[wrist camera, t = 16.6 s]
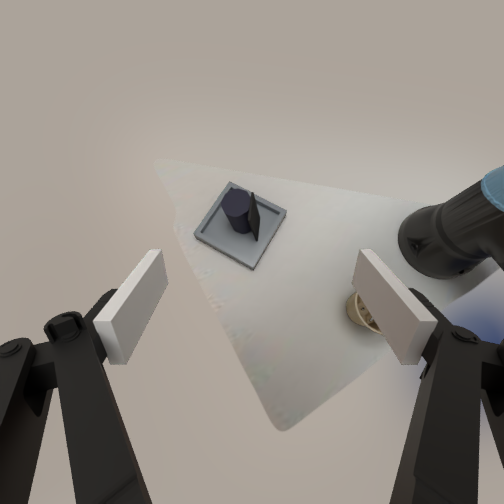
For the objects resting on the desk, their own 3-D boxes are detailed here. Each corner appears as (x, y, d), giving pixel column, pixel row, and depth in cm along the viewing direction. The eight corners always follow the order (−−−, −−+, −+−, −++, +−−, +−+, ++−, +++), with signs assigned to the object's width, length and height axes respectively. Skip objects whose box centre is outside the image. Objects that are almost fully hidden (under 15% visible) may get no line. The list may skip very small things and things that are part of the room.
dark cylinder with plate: (269, 218, 52) (266, 193, 42) (257, 242, 51) (251, 221, 41) (238, 205, 54) (228, 178, 44) (225, 228, 52) (212, 205, 43)
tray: (285, 215, 53) (287, 210, 51) (253, 270, 50) (253, 267, 48) (230, 187, 56) (229, 181, 53) (195, 238, 52) (193, 233, 50)
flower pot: (345, 277, 50) (363, 267, 41) (391, 295, 48) (420, 288, 40) (331, 321, 47) (348, 320, 39) (379, 342, 46) (407, 345, 38)
